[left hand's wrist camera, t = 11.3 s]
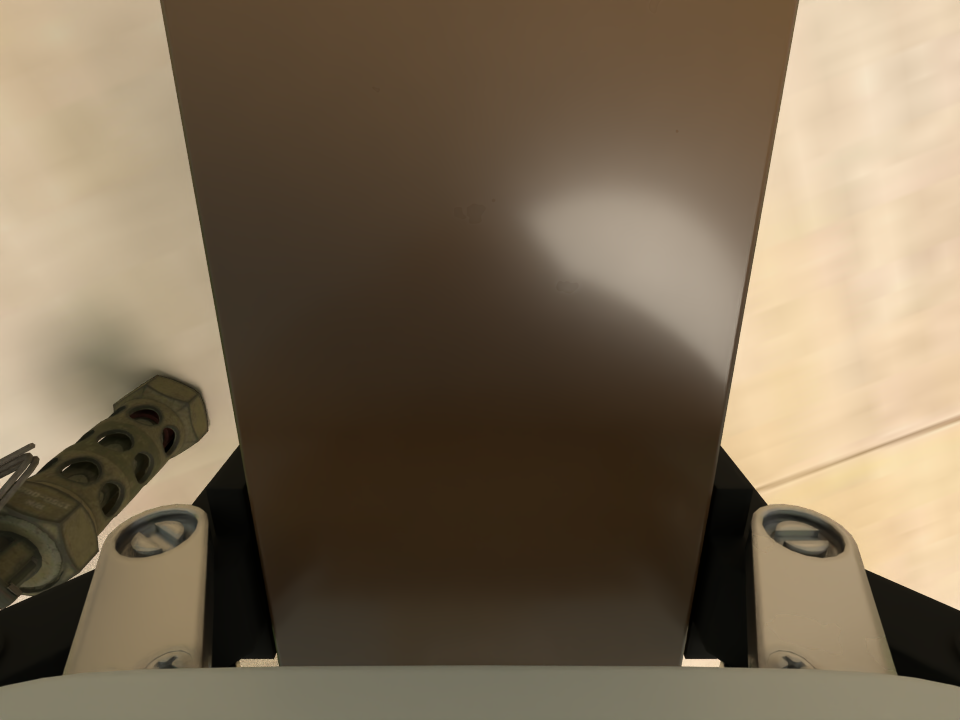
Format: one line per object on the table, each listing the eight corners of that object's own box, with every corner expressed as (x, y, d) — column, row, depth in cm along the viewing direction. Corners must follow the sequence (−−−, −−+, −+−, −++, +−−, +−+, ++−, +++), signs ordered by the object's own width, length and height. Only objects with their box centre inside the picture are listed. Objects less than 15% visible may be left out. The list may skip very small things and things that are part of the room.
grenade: (169, 335, 32) (-74, 494, 18) (236, 412, 33) (65, 610, 20) (61, 407, 33) (-237, 602, 19) (131, 476, 35) (-95, 699, 21)
